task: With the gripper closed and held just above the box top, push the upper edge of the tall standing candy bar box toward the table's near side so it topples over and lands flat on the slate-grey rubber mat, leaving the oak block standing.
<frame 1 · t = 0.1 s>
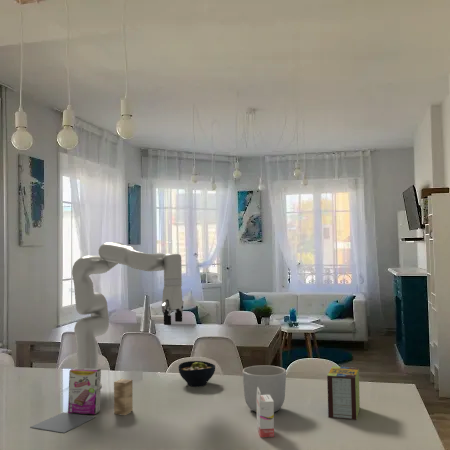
hand: (173, 323, 216), 31 cm above the counter, fingers open, 9 cm apart
candy bar box: (83, 413, 196), on the counter, touching mat
mat: (63, 422, 185), on the counter
protein box: (344, 413, 192), on the counter
oak block: (123, 412, 196), on the counter
planter: (264, 410, 196), on the counter
ink cartridge box: (265, 433, 172), on the counter
bowl: (197, 384, 234), on the counter
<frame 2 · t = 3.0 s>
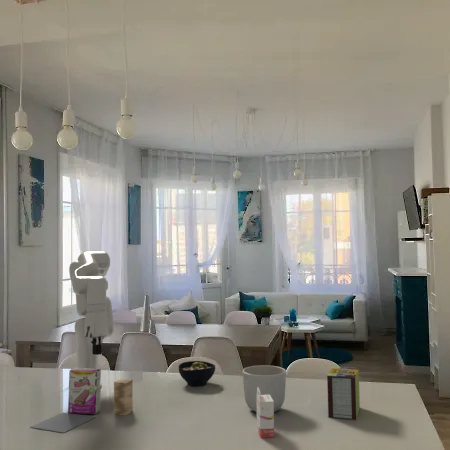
hand: (96, 354, 203), 21 cm above the counter, fingers closed
nothing on the counter moved.
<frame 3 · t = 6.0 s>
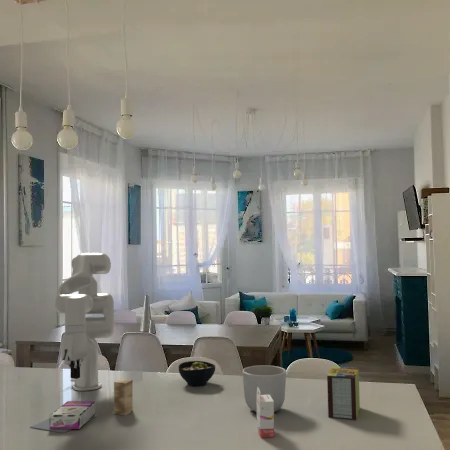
hand: (75, 378, 192), 15 cm above the counter, fingers closed
candy bar box: (81, 407, 194), point 3 cm above the counter, touching mat
everything else where it was.
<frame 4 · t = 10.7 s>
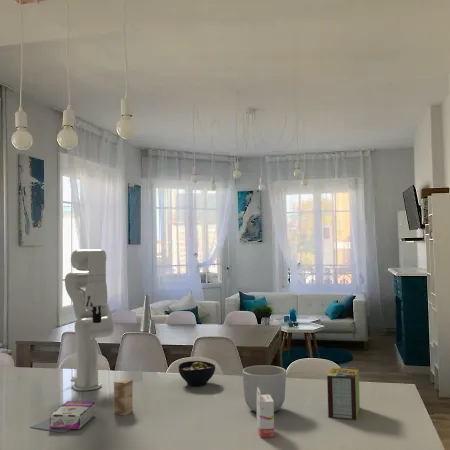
hand: (96, 322, 214), 32 cm above the counter, fingers closed
nothing on the counter moved.
at the end: candy bar box tilted 89°; candy bar box inside the target area (10.0 cm from its centre), point 2.7 cm above the counter; oak block tilted 0° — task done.
